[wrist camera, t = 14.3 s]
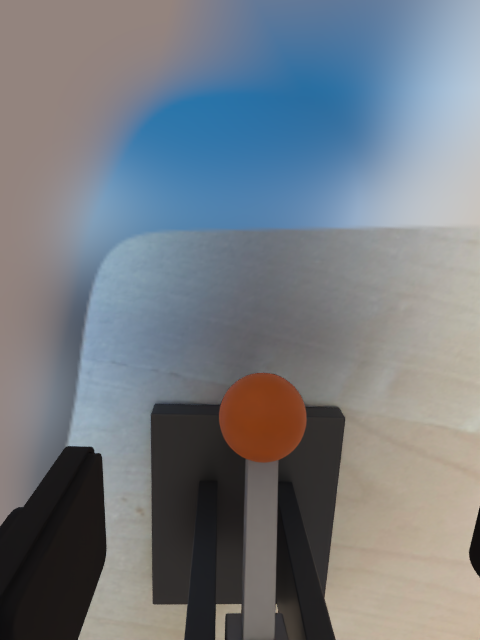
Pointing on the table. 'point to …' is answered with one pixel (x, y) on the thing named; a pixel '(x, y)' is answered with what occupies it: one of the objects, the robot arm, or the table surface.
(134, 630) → the table surface
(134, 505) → the table surface
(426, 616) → the table surface
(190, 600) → the lever base
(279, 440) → the switch lever
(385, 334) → the table surface
